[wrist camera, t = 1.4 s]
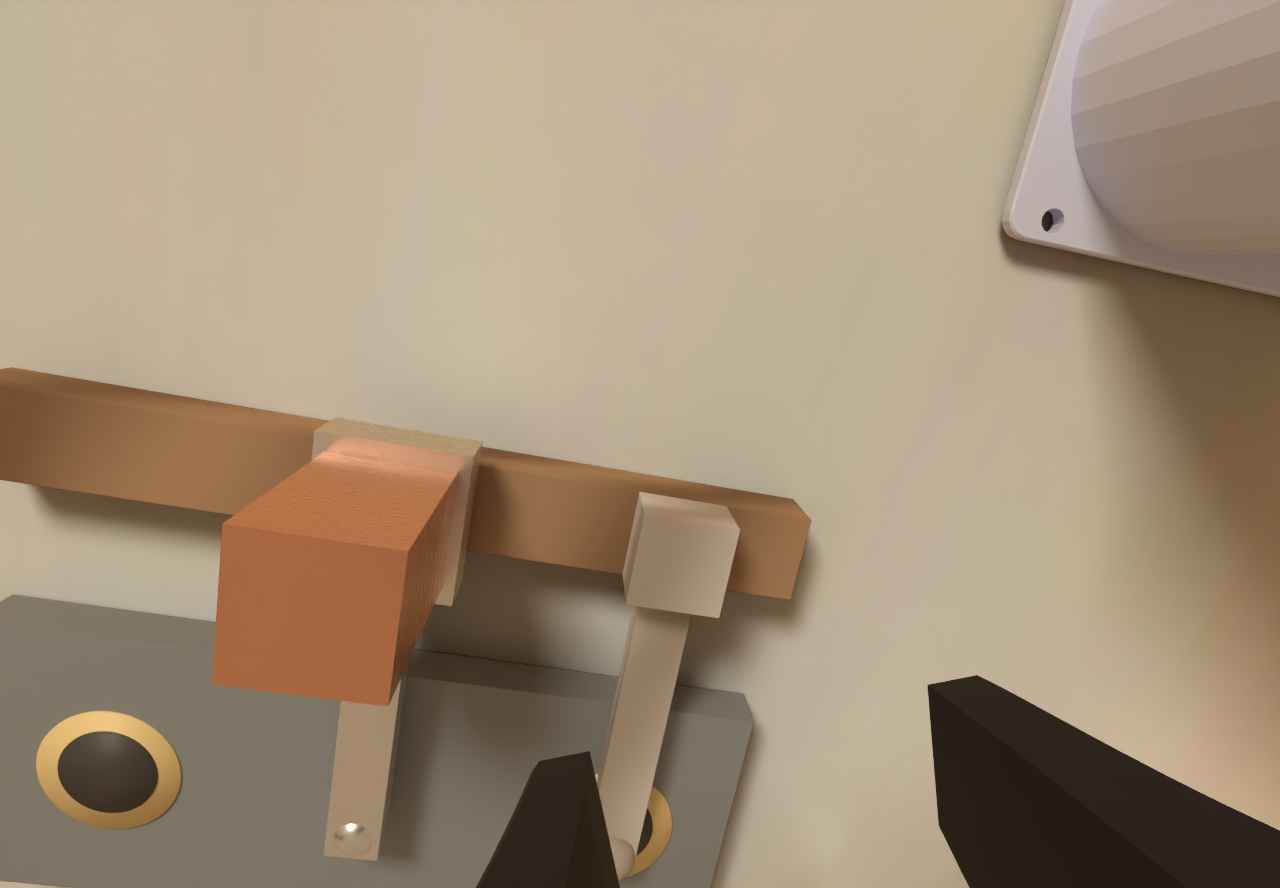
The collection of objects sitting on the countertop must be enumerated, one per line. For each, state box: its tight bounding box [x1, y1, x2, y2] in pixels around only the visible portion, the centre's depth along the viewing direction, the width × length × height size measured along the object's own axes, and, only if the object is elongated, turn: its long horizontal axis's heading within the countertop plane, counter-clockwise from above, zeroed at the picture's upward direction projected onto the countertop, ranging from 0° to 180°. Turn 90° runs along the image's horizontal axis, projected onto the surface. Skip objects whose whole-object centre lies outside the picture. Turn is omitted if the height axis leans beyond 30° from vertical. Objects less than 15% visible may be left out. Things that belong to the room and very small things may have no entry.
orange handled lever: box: [212, 418, 483, 861], centre depth 14 cm, size 3×10×6 cm, turn 169°
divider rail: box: [0, 368, 811, 881], centre depth 16 cm, size 18×10×3 cm, turn 79°
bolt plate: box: [0, 595, 754, 888], centre depth 18 cm, size 18×7×1 cm, turn 79°
